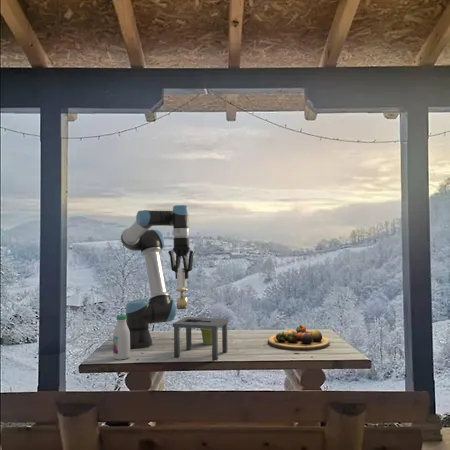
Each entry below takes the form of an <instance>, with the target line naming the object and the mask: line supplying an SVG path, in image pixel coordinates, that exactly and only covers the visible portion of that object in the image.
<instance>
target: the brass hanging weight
mask: <svg viewBox="0 0 450 450" xmlns="http://www.w3.org/2000/svg"><path fill="white" fill-rule="evenodd" d="M183 272H184V267H180V268H178V286H177V288H176V289H175V291H176V292H180V295H179V296H180V297H177V298H176V310H187V309H188V308H189V307H188V297H185V292H188V291H189V288H187V286H183Z"/></svg>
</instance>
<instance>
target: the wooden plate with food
mask: <svg viewBox="0 0 450 450" xmlns="http://www.w3.org/2000/svg"><path fill="white" fill-rule="evenodd" d="M267 342H268V344H269V345H270V346H272V347H275V348H278V349H283V350H287V351H288V350H289V351H316V350H321V349H325V348H327V347H328V346H329V345H330V340H329V339H328V338H327V337H326V336H323V335H322V333H321V331H320V330H318V329H314V331H312V330H307V329H306V326H305V324H301V325H299V326H297V327H296V329H295V330H292V329H289V330H286V331H282V332H278V333H277V334H274V335H272V336H270V337H269V338H268V339H267Z"/></svg>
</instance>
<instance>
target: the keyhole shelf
mask: <svg viewBox="0 0 450 450" xmlns="http://www.w3.org/2000/svg"><path fill="white" fill-rule="evenodd" d="M229 321H230V320H229V318H214V317H197V316H196V317H193V316H186V317H184V318H182V319H179V320H177V321H176V322H173V323H172V328H173V347H174V348H173V357H174V358H176V359H179V358H180V357H181V349H180V348H181V345H180V344H181V343H180V342H181V340H180V338H181V337H180V332H181V331H180V330H181V329H180V328H185V336H186V337H185V338H186V339H185V342H186V343H185V346H186V347H185V348H186V349H185V350H186V351H191V350H192V329H200V328H201V329H212V344H211V347H212V348H211V351H212V353H211V354H212V355H211V356H212V358H211V359H212V360H211V361H213V360H217V359H218V360H219V355H218V354H219V353H218V352H219V351H218V350H219V347H218V346H219V345H218V338H219V336H218V333H219V331H218V329H220V328H222V329H221V338H222V339H221V341H222V350H221V351H222V353H223V354H227V353H229V352H228V350H229V349H228V323H229ZM201 329H200V330H201ZM218 360H217V361H218Z"/></svg>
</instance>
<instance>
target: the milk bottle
mask: <svg viewBox="0 0 450 450" xmlns="http://www.w3.org/2000/svg"><path fill="white" fill-rule="evenodd" d="M126 318H127V317H126V314H118V315H116V325H115V327H114V330H113V336H112V337H113V338H112V339H113V341H112V342H113V344H112V345H113V347H112V349H113V355H112V356H113V359H114V360H116V361H117V360H121V361H123V360H122V359H124V360H128V359H130V358H131V348H130V332H129V328H128V326H127V324H126ZM129 357H130V358H129ZM127 358H128V359H127Z"/></svg>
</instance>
